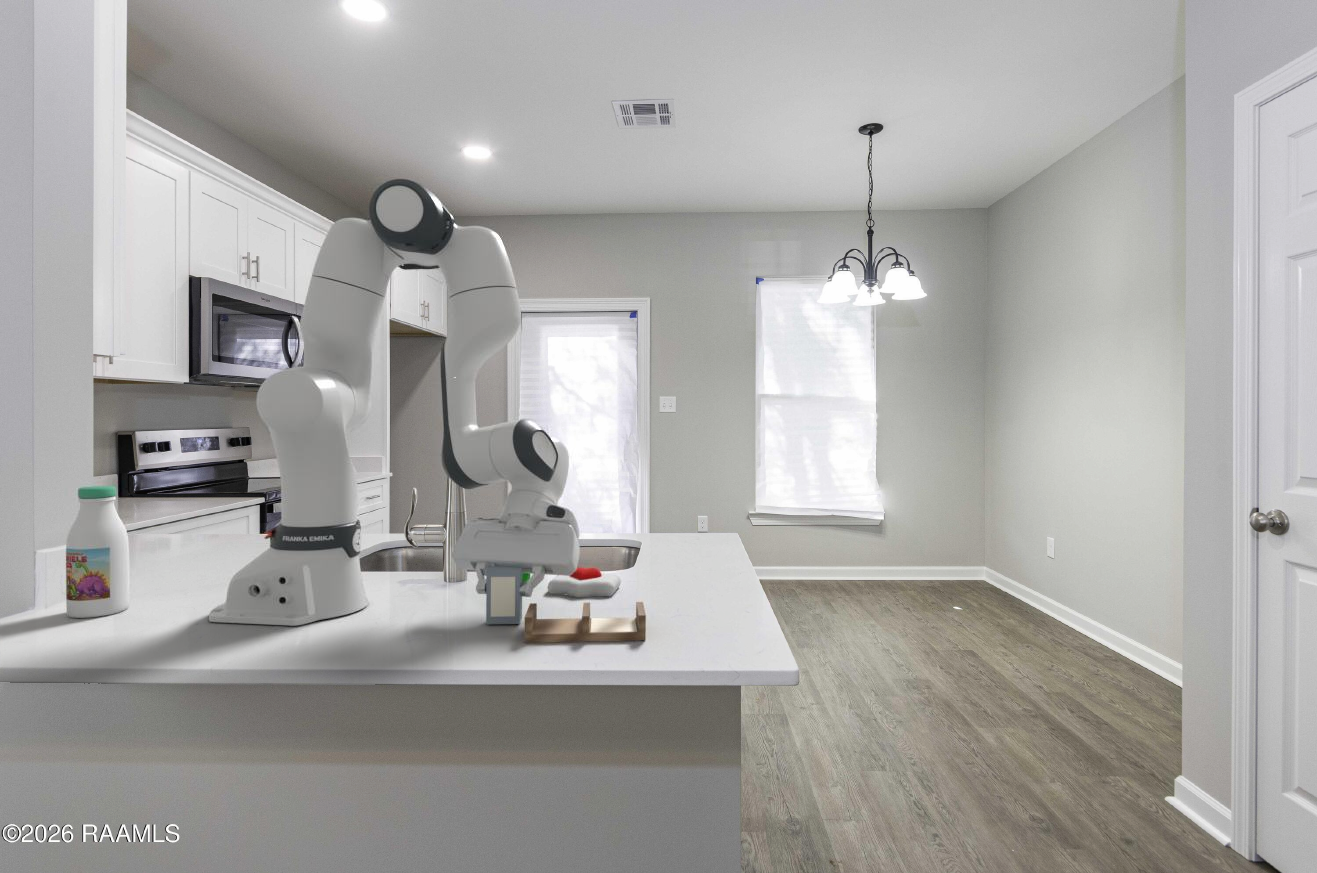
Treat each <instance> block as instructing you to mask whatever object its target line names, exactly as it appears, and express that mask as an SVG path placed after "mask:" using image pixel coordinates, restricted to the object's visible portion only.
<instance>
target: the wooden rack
mask: <svg viewBox="0 0 1317 873" xmlns="http://www.w3.org/2000/svg"><path fill="white" fill-rule="evenodd" d="M635 606H636V607H635V608H636V609H635V617H596V618H595V617H591V602H583V605H582V613H581V614H582V616H581V617H580V618H579V617H578V618H538V616H537V615H538V605H537V602H536V603H535V602H534V603H529V605H528V607H527V610H526V613H525V615H524V643H525V644H529V643H530V644H531V643H532V644H533V643H534V644H535V643H536V644H537V643H585V642H586V641H593V642H629V641H630V642H633V640H646V639H647V638H646V635H647V634H646V632H647V631H646V628H647V627H646V622H647V617H646V616H647V615H646V610H645V609H646V608H645V606H644V602H643V601H636V603H635Z"/></svg>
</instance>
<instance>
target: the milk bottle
mask: <svg viewBox="0 0 1317 873" xmlns="http://www.w3.org/2000/svg"><path fill="white" fill-rule="evenodd" d="M77 491H78V492H77V497H78V502H79V504H80V505H79V510H78V513H77V516H76V518H75V520H74V522H73V524H72V525H71V527H70V529H69V532H68V534H67V538H66V546H65V584H66V585H65V588H66V589H65V590H66V591H65V594H66V595H65V596H66V598H65V599H66V602H65V603H66V614H67V616H68V617H69V618H73V619H87V618H97V617H105V616H110V615H114V614H118V613H120V612H124V611H125V610H127V609H128V608H129V607H130V605H131V604H130V603H131V602H130V601H131V599H130V598H131V597H130V596H131V594H130V591H131V589H130V586H131V585H130V582H131V581H130V576H131V575H130V574H131V573H130V547H129V546H130V545H129V535H128V531H127V529H126V527H125V524H124V523H123V521H122V519H121V518H120V515H119V514H118V512H117V509H116V506H115V501H116V499H117V498H116V496H117V489H116V487H115V485H114V486H112V485H93V486H85V487H79V488H78V489H77Z"/></svg>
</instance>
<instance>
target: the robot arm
mask: <svg viewBox="0 0 1317 873" xmlns="http://www.w3.org/2000/svg"><path fill="white" fill-rule="evenodd" d="M368 214H369V220H368V219H363V218H358V217H345V218H344V217H343V218H340V219H337V221H335V222H333V224H331V225H330V228H329V230H328V232H327V234H326V235H325V238H324V240H323V242H322V244H321V246H320V248H319V252H318V253H317V257H316V260H315V263H314V266H313V271H312V272H311V276H310V281H309V285H308V289H307V292H306V293H307V294H306V296H305V297H306V298H305V300H304V305H303V309H302V313H301V316H300V319H299V320H300V322H299V323H300V324H299V327H300V331H301V334H302V339H303V366H295V367H293V366H292V367H290V368H286V369H282V370H280V371H278V372H274V373H272V374H271V375H270V376H269V377H267V378H265V379H264V381H263V382H262V383H261V385H260V386H259V389H258V391H257V394H256V409H257V412H258V414H259V418H261V420H262V421H263V423H265V425H266V426H267V428H268V431H269V434H270V437H271V438H270V439H271V441H272V444H273V448H274V452H275V456H276V460H277V463H278V464H277V465H278V469H279V475H280V476H279V477H280V496H281V497H280V499H281V500H280V502H281V503H280V504H281V506H280V507H281V508H280V509H281V510H280V511H281V523H279V524H278V525H276V526H274V527H272V528H270V530H267V531H265V532H264V534H267V535H265V536H264V539H265V540H267V539H269V547H268V548H267V549H266V550H265V551H263V552H262V553H260V555H258V556H257V557H255V558H253V560H252V561H250V562H249V563H247V564H246V565H245V566H244V567H242V568H241V569H240V570H237V572H235V573H234V575H233V576H232V577H231V580H230V581H229V584H228V588H227V592H226V599H225V602H223V603H221V604H219V605H217V606H216V607H214V608H213V609H211V611H210V612H209V614H208V621H209V622H211V623H212V622H213V623H231V624H250V625H252V624H253V625H272V626H273V625H274V626H291V627H292V626H301V625H306V624H310V623H313V622H316V621H320V620H321V621H322V620H326V619H332V618H337V617H341V616H346V615H349V614H352V613H355V612H359V611H361V610H362V609H364V608H366V607H367V606H368V605H369V602H370V601H369V599H368V597H367V593H366V589H365V587H364V582H363V576H362V569H361V564H360V563H361V562H360V553H361V548H362V531H361V520H359V519H358V474H357V471H356V470H357V469H356V468H355V466H354V464H353V461H352V457H351V455H350V454H351V453H350V450H349V445H348V441H347V439H348V438H347V435H348V434H349V433H353V432H354V431H355V430H357V429H358V428H360V427H361V426H362V425H363V424H364V423H365V422H366V421H367V419H368V418H369V416H370V414H371V411H372V399H371V395H370V392H371V382H372V370H373V369H372V368H373V367H372V366H373V351H374V343H375V340H376V334H377V330H378V326H379V323H380V322H379V321H380V318H381V315H382V311H383V306H384V301H385V298H386V293H387V289H388V285H389V282H390V278H391V277H392V274H393V272H394V271H395V269H397V268H400V269H402V270H405V271H407V270H408V271H409V270H411V271H412V270H436V269H440V270H441V272H442V275H443V277H444V280H445V284H446V289H447V293H448V298H449V305H450V307H449V308H450V322H449V329H448V332H447V336H446V337H445V338H444V340H443V342H442V344H441V348H440V359H439V360H440V362H439V363H440V364H439V365H440V385H441V386H440V387H441V404H442V420H443V421H442V423H443V436H442V447H441V455H440V456H441V465H442V469H443V471H444V473H445V474H446V475H447V477H448V478H449V479H450V480H451V481H452V482H453V483H454V484H456V485H457V486H459V487H460V488H462V489H465V490H473V489H476V488H480V487H484V486H488V485H490V484H494V483H502V482H508V483H509V484H510V485H511V490H510V491H509V493H508V494H507V496H506V499H505V502H504V505H503V508H502V511H501V513H500V515H499V518H496V517H494V518H493V517H491V518H485V517H477V518H475V519H473V520H471V521H469V522H467V523H466V524H465V525H464V527H463V529H462V533H461V534H460V536H459V537H458V540H457V541H456V543H455V544H454V547H453V549H452V551H451V558H452V560H453V561H454V563H455V565H456V566H457V568H458V569H460V570H463V571H464V570H465V571H475V572H476V576H477V579H478V580H477V583H476V586H475V591H476V593H477V594H478V595H486V578H485V577H486V572H487V570H488V569H489V568H490V567H522V573H530V579H529V580H528V581H527V582H522V583H521V587H520V589H519V593H520V594H521V596H522V598H524V597H525V598H531V597H532V596H533V595H532V594H533V592H534V589H535V588H536V587H537V586H538V585H539V584H541V583H542V582H543V581H544V579H545V575H551V576H552V575H553V576H557V575H565V576H570V575H572V574H573V573H574V572H575V571H576V570H577V567H578V564H579V560H580V552H581V551H580V550H581V549H580V544H579V537H580V535H581V534H580V527H579V524H578V522H577V519H576V517H575V514H574V513H573V511H572V510H571V509H569V508H567V507H563V506H560V505H559V504H558V503H559V501H560V499H561V497H562V496H563V494H564V491H565V487H566V484H567V478H568V474H569V473H568V472H569V466H570V456H569V451H568V448H567V447H566V446H565V445H564V443H562V442H561V441H560V440H559V439H557V438H555V437H553V436H550V435H549V434H548V432H546V431H545V430H544V428H543V427H542V426H540V425H539V424H538V423H536V422H535V421H533V420H531V419H529V418H523V419H522V418H521V419H516V420H510V421H506V422H499V423H497V424H493V425H487V426H482V427H479V426H478V422H477V421H478V419H477V402H476V400H477V399H476V379H477V375H478V372H479V370H480V369H481V368H482V367H483V365H484V364H485V363H486V362H487V361H488V360H489V359H490V358H491V357H493V356H494V355H495V354H497V353H498V352H499V351H501V350H502V349H503V348H505V347H506V346H507V345H508V344H509V342H511V341H512V340H513V339H514V337H515V335H516V334H517V332H518V330H519V327H520V325H521V322H522V321H521V319H522V311H521V310H522V309H521V308H522V307H521V303H520V302H521V301H520V297H519V294H518V288H517V283H516V279H515V276H514V272H513V267H512V265H511V262H510V258H509V256H508V253H507V250H506V247H505V245H504V243H503V240H502V239H501V237H500V236H499V234H498V233H497V232H496V231H494V230H492V229H490V228H488V227H485V226H480V225H469V226H460V225H458V224H457V223H456V221H455V218H454V217H453V215H452V214H451V213H450V212H449V210H448V208H447V207H446V206H445V205H444V203H443V202H441V200H440V199H439V198H438V197H437V196H436V195H435V193H434V192H433V191H431V190H430V189H429V188H427V187H426V186H424V185H422V184H421V183H418V182H417V181H414V180H411V179H406V178H395V179H391V180H388V181H386V182H384V183H382V184H381V185H379V186H378V188H377V189H376V190H375V191H374V192H373V193H372V195H371V198H370V201H369V206H368ZM454 377H456V378H454ZM451 379H452V380H451ZM531 574H532V575H531Z"/></svg>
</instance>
